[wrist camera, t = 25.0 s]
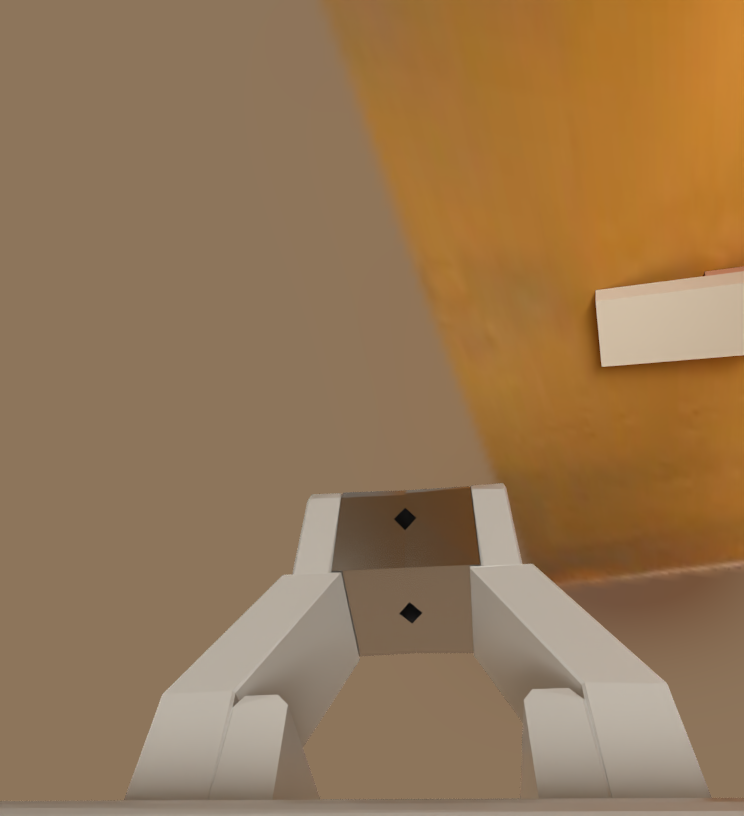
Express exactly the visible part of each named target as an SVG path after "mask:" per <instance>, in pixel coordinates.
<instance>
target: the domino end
mask: <svg viewBox="0 0 744 816" xmlns="http://www.w3.org/2000/svg"><path fill="white" fill-rule="evenodd" d="M596 312H597V323H598V333H599V344H600V355H601V366H602V367H607V366H619V365H631V364H643V363H655V362H667V361H680V360H692V359H704V358H716V357H728V356H741V355H744V271H740V272H733V273H725V274H717V275H710V276H702V277H694V278H687V279H679V280H671V281H664V282H656V283H648V284H641V285H633V286H625V287H617V288H610V289H602V290H596Z"/></svg>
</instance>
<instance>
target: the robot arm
mask: <svg viewBox="0 0 744 816" xmlns="http://www.w3.org/2000/svg"><path fill="white" fill-rule="evenodd" d="M407 653H474V656H475V658H476V659H477V660H478V662H479V663H480V665H481V666H482V667H483V669H484V670H485V672H486V673H487V674H488V676H489V677H490V678H491V680H492V681H493V683H494V684H495V685H496V687H497V688H498V690H499V691H500V692H501V693H502V695H503V696H504V698H505V699H506V701H507V702H508V703H509V705H510V706H511V707H512V709H513V710H514V712H515V713H516V714H517V716H518V717H519V718H520V720H521V721H522V723H523V735H522V764H521V791H520V799H333V800H332V799H330V800H327V799H326V800H320V797H319V795H318V792H317V788H316V785H315V783H314V780H313V777H312V774H311V771H310V768H309V765H308V762H307V759H306V756H305V753H304V750H303V747H304V745H305V744H306V742H307V741H308V739H309V737H310V736H311V734H312V733H313V731H314V730H315V728H316V727H317V725H318V724H319V722H320V721H321V719H322V717H323V716H324V714H325V713H326V711H327V710H328V708H329V707H330V705H331V704H332V702H333V700H334V699H335V697H336V696H337V694H338V693H339V691H340V689H341V688H342V687H343V685H344V683H345V681H346V680H347V679H348V677H349V676H350V674H351V673H352V671H353V669H354V668H355V666H356V665H357V663H358V662H359V660H360V659H359V656H371V655H372V656H373V655H390V654H407ZM0 816H744V798H711V795H710V792H709V790H708V787H707V785H706V782H705V780H704V777H703V775H702V772H701V770H700V767H699V764H698V762H697V759H696V756H695V754H694V751H693V749H692V746H691V744H690V741H689V739H688V736H687V733H686V731H685V728H684V726H683V723H682V721H681V718H680V716H679V713H678V710H677V708H676V705H675V703H674V700H673V697H672V695H671V692H670V690H669V687H668V685H667V683H666V682H665V681H664V680H663V679H661V678H660V677H659V676H658V675H657V674H656V673H655V672H654V671H652V670H651V669H650V668H649V667H648V666H647V665H646V664H645V663H644V662H642V661H641V660H640V659H639V658H638V657H637V656H636V655H635V654H633V653H632V652H631V651H630V650H629V649H628V648H627V647H626V646H624V645H623V644H622V643H621V642H620V641H619V640H618V639H617V638H615V637H614V636H613V635H612V634H611V633H610V632H609V631H608V630H606V629H605V628H604V627H603V626H602V625H601V624H600V623H599V622H597V621H596V620H595V619H594V618H593V617H592V616H591V615H590V614H589V613H587V612H586V611H585V610H584V609H583V608H582V607H581V606H580V605H578V604H577V603H576V602H575V601H574V600H573V599H572V598H571V597H569V596H568V595H567V594H566V593H565V592H564V591H563V590H562V589H560V588H559V587H558V586H557V585H556V584H555V583H554V582H553V581H552V580H550V579H549V578H548V577H547V576H546V575H545V574H544V573H543V572H541V571H540V570H539V569H538V568H537V567H536V566H535V565H534V564H522V560H521V555H520V551H519V546H518V541H517V537H516V532H515V527H514V523H513V518H512V513H511V509H510V504H509V499H508V495H507V490H506V487H505V485H504V484H503V483H497V484H484V485H472V486H470V487H469V486H467V487H452V488H437V489H421V490H405V491H377V492H350V493H343V494H341V493H339V494H313V495H311V497H310V498H309V500H308V501H307V506H306V511H305V516H304V521H303V525H302V530H301V535H300V540H299V545H298V550H297V554H296V559H295V564H294V569H293V574H292V575H282V576H281V577H280V578H279V579H278V580H277V581H276V582H275V583H274V584H273V585H272V586H271V587H270V588H269V589H268V590H267V591H266V592H265V593H264V594H263V595H262V596H261V597H260V598H259V599H258V600H257V601H256V602H255V603H254V604H253V605H252V606H251V607H250V608H249V609H248V610H247V611H246V612H245V613H244V614H243V615H242V616H241V617H240V618H239V619H238V620H237V621H236V622H235V623H234V624H233V625H232V626H231V627H230V628H229V629H228V630H227V631H226V632H225V633H224V634H223V635H222V636H221V637H220V638H219V639H218V640H217V641H216V642H215V643H214V644H213V645H212V646H211V647H210V648H209V649H208V650H207V651H206V652H205V653H204V654H203V655H202V656H201V657H200V658H199V659H198V660H197V661H196V662H195V663H194V664H193V665H192V666H191V667H190V668H189V669H188V670H186V671H185V672H184V673H183V674H182V675H181V676H180V677H179V679H178V680H176V681H175V682H174V683H173V684H172V685H171V686H170V687H169V688H168V689H167V690H166V691H165V692H164V693H163V695H162V697H161V700H160V703H159V705H158V708H157V711H156V714H155V716H154V719H153V722H152V725H151V727H150V730H149V733H148V736H147V738H146V742H145V744H144V747H143V749H142V752H141V755H140V758H139V761H138V763H137V766H136V769H135V771H134V774H133V777H132V780H131V782H130V785H129V788H128V791H127V793H126V796H125V799H124V800H121V801H118V800H117V801H115V800H113V801H112V800H110V801H109V800H108V801H0Z"/></svg>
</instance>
